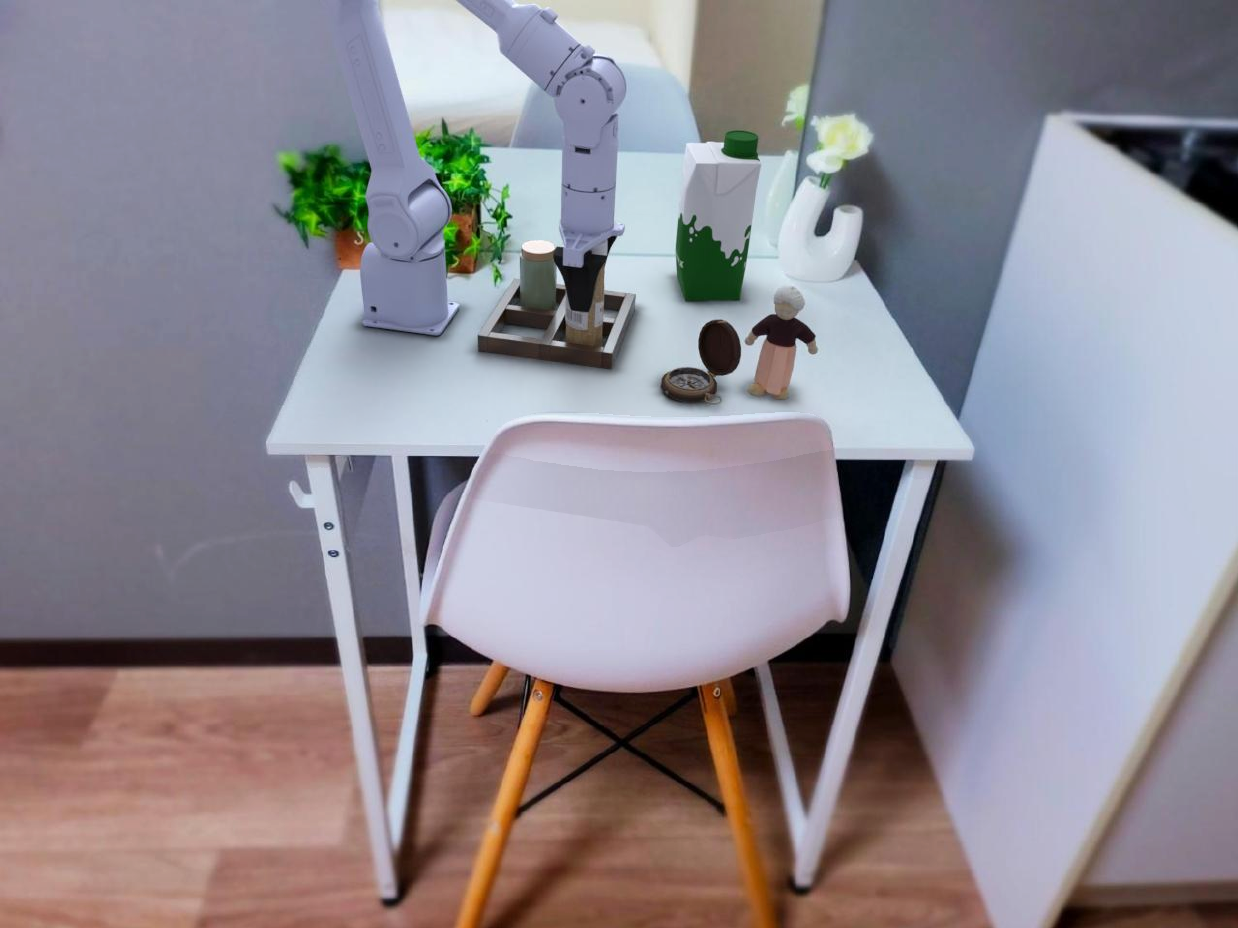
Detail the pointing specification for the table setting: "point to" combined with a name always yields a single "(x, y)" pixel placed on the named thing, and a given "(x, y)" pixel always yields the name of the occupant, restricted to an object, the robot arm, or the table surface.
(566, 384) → the table surface
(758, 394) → the grandmother figurine
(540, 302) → the spice jar
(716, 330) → the compass
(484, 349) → the holder
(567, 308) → the sprinkles bottle
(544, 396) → the table surface
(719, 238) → the milk carton
